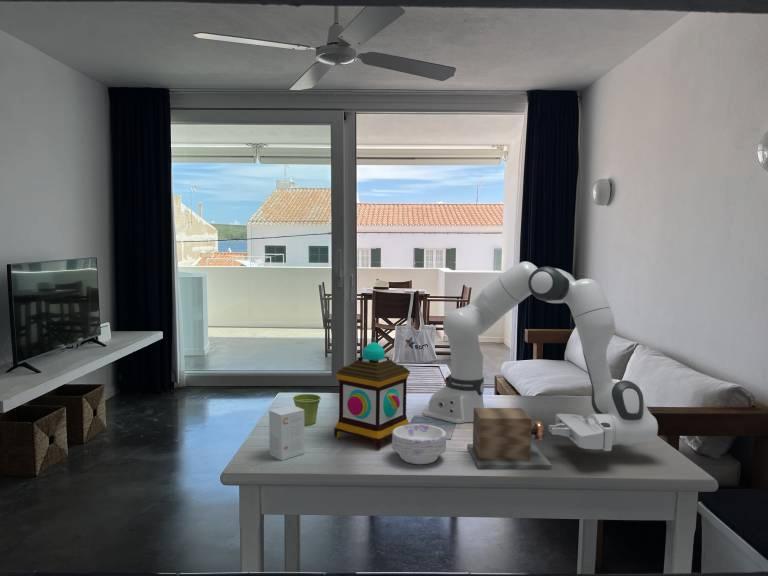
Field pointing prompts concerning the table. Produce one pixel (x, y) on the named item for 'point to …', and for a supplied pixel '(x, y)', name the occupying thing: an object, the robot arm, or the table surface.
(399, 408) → the decorative lantern
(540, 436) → the plunger
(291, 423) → the small box
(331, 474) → the table surface
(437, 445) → the paper bowls
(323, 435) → the table surface
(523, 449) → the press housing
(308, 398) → the plant pot
